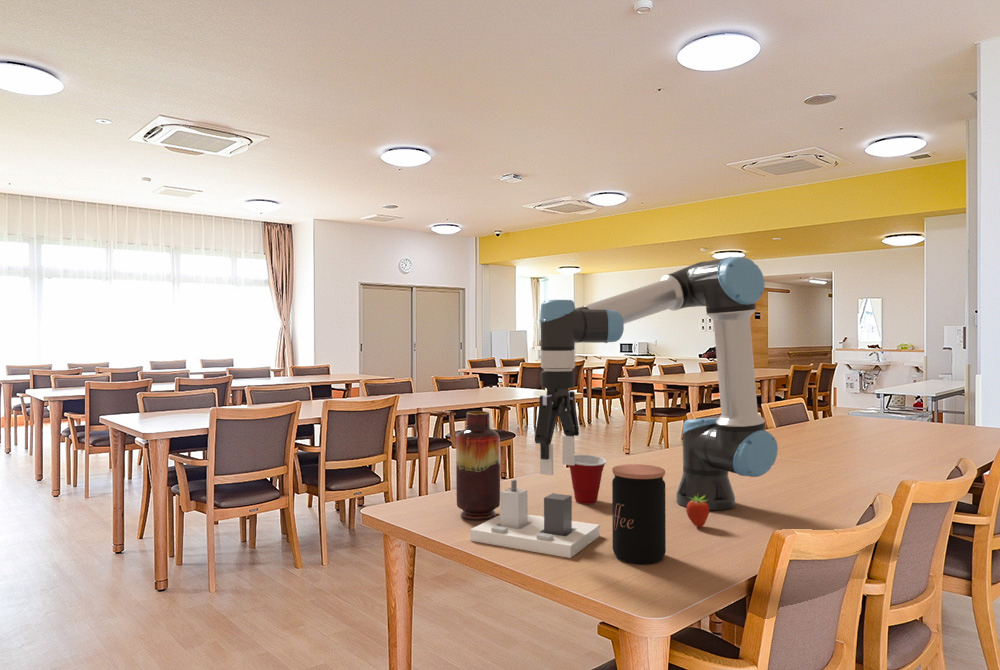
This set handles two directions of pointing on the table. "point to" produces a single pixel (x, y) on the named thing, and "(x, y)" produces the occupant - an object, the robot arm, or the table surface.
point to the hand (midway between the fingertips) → (558, 469)
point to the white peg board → (530, 528)
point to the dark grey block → (558, 514)
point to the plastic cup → (586, 477)
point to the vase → (478, 468)
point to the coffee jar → (638, 513)
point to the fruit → (697, 511)
